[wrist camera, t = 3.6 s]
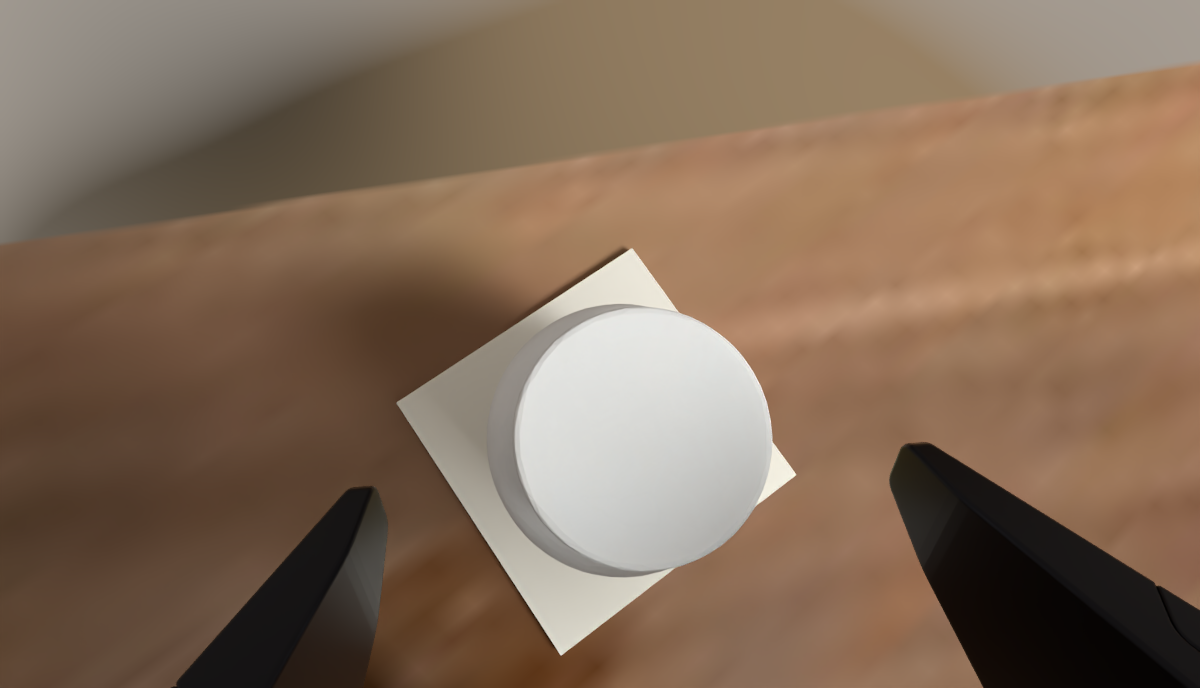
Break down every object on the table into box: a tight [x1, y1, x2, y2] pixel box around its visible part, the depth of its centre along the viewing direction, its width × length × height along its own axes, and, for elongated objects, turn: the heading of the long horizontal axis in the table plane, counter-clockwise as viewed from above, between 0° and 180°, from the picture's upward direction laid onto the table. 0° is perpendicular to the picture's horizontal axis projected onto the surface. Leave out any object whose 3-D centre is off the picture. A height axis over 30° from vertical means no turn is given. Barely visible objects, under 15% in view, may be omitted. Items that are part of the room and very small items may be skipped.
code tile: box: [396, 248, 796, 655], centre depth 19 cm, size 9×9×1 cm
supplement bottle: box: [487, 304, 772, 577], centre depth 14 cm, size 5×5×10 cm
